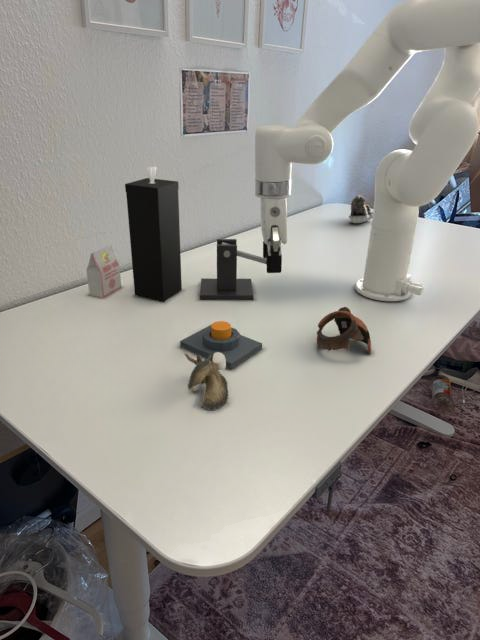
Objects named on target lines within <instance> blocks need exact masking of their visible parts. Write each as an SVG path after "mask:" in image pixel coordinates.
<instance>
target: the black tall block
mask: <svg viewBox="0 0 480 640" xmlns="http://www.w3.org/2000/svg"><path fill="white" fill-rule="evenodd" d="M146 170H147V171H146V172H147V175H148V177H146V178H142V179H138V180H134V181H131V182H127V183H125V184H124V189H125V194H126V205H127V206H126V208H127V216H128V230H129V243H130V253H131V267H132V278H133V279H132V280H133V288H134V289H133V291H134V296H136V297H139V298H143V299H148V300H152V301H156V302H161V303H164V302H166V301H168V300H169V299H170V298H172V297H174V296H175V295H176V294H178V293H179V292H181V291H182V290H183V286H182V259H181V233H180V232H181V231H180V230H181V229H180V206H179V205H180V204H179V202H180V201H179V187H180V186H179V181H176V180H168V179H161V178H160V179H158V178H156V175H157V166H146Z"/></svg>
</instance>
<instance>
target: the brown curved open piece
mask: <svg viewBox="0 0 480 640" xmlns="http://www.w3.org/2000/svg"><path fill="white" fill-rule="evenodd" d="M332 321H334V323H335V324H336V326H337V329H338V331H339V334H338V335H336V336H334V335H333V336H328V335H325V334H323V332H322V331H323V329H324V328H325V326H327V324H329V323H331V322H332ZM317 327H318V330H317V331H316V345H317V347H318V348H319V349H323V350H325V351H338V350H343V349H344V350H346V351H351V347H350V340H352V341H354V342H360V343H363V344H365V345H366V348H367V353H368V355H371V354H372V340H371V336H370V335H371V334H370V331H369V329H368V326H367V325H366V323H365V322H364V321H363V320H362V319H360V318H359V317H357V316H355V315H354V314H353V313H352V312H351V310H350V308H349V307H347V306H343V307H340V308H339V309H338V310H337V311H333V312H330V313H328V314H327V315H325V316H323V317H322V319H321V320H320V321H319V322H318V323H317Z"/></svg>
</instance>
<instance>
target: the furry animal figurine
mask: <svg viewBox="0 0 480 640" xmlns="http://www.w3.org/2000/svg"><path fill="white" fill-rule="evenodd" d="M184 356H185V358H186V359H187V360H188V361H189V362H191V363H192V364H194V365H195V366H194V368H193V369H192V371H191V373H190V376H189V380H188V384H187V388H188V390H191V389H192V393H194V392H195V391H199V389H200V388H201V387H202V386H203V385H204V384H205V391H204V395H203V398H202V400H201V404H200V406H201V407H203V409H204V410H205V409H207V411H213V412H214V411H215V410H218V409H219V408H221V407H223V406H224V405H225V404H226V403H227V401H228V398H229V390H228V381H227V379H226V377H225V376H224V375H223V374H222V373H221V372H220V371H223V370H225V369H226V359H225V356H224V355H223V354H222V353H220V352H215V353H214V354H213V358H212V361H210V358H211V355H209V357H208V359H206V358H205V359H204V360H202V357H201V356H200V355H197V356H196V359H195V358H193V357H192V356H190V355H189V354H188V353H186V352H184Z"/></svg>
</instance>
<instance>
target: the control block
mask: <svg viewBox="0 0 480 640" xmlns="http://www.w3.org/2000/svg"><path fill="white" fill-rule="evenodd" d="M212 324H213V323H211V324H210V325H208V326H206V327H204V328H202V329H200V330H198V331H196V332H194V333H192V334H190V335H189V336H187V337H185V338H182V339H181V340H179V346H180V347H179V348H181V349H184V350H186V351H188V352H191V353H193V354H195V355H197V356H198V355H200V357H201V358H204V359H205V360H206V359H208V357H209V355H211V358H210V362H212V358H213V354H214V353H215V352H220V353H222V354H223V355H224V356H225V359H226V368H227V369H228V370H233V369H235V368H236V367H237V366H239V365H241V364H242V363H244V362H245V361H247V360H248V359H249V358H251V357H253V356H254V355H256V354H258V353H259V352H260V351H262V350H263V343H262V342H260V341H258V340H255V339H253V338H249V337H247V336H245V335H243V334H240V331H238V329H237V328H235V327H232V326H231V337H230V338H228V339H224V340H220V339H214V338H212V336H211V325H212ZM226 368H225V369H226Z"/></svg>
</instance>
